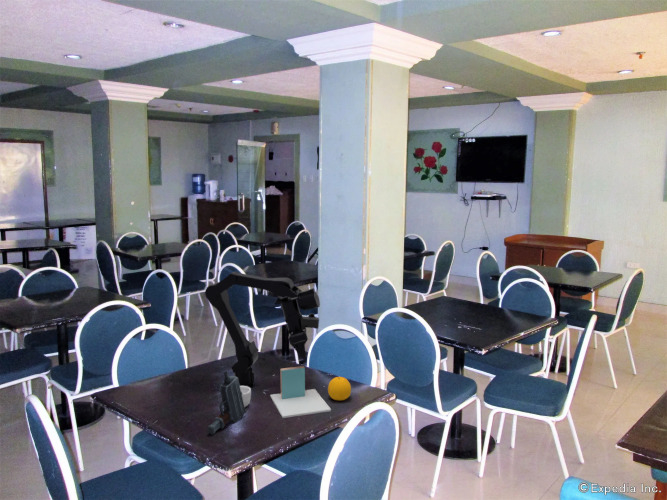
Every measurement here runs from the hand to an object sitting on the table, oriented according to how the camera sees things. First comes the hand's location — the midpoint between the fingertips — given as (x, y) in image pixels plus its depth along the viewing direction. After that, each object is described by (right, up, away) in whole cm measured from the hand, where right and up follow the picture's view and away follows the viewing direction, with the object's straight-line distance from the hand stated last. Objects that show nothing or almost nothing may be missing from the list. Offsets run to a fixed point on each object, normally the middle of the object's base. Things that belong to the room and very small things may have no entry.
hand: (304, 355), depth 191 cm
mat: (-1, -14, -11) cm, 18 cm away
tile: (-3, -13, -7) cm, 15 cm away
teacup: (-21, -14, -13) cm, 29 cm away
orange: (+12, -14, -7) cm, 20 cm away
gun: (-22, -16, -26) cm, 38 cm away
